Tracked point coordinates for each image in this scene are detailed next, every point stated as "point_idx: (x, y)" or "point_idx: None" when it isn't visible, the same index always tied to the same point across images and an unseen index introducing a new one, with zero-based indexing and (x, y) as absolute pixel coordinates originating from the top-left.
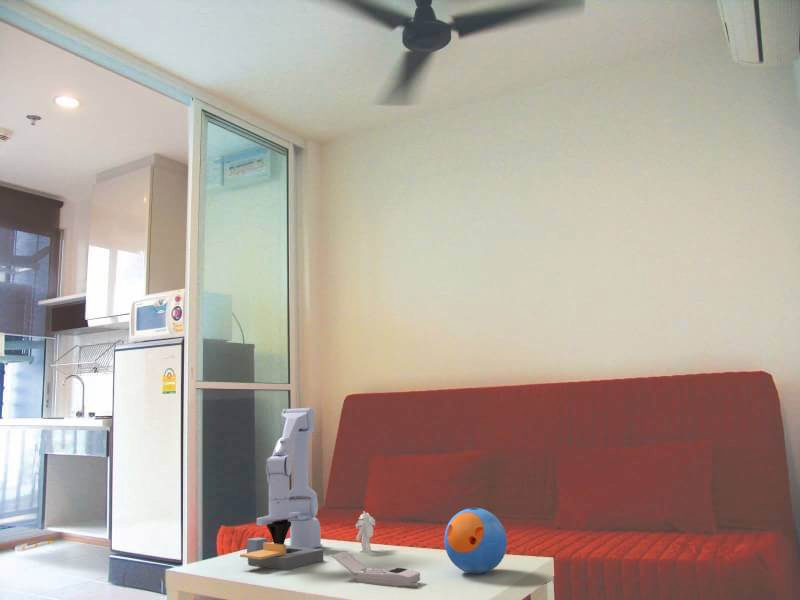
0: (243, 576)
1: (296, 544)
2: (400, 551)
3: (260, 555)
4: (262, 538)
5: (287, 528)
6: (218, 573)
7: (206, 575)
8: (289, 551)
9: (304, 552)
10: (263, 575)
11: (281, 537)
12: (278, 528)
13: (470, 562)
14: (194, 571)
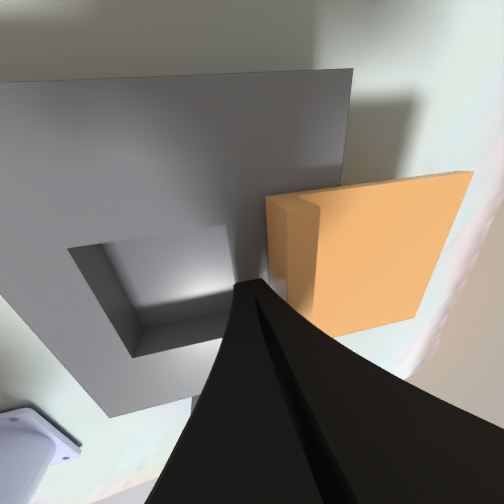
0: (457, 170)
1: (24, 453)
2: None
3: (426, 220)
4: None
5: (223, 455)
6: None
7: (450, 284)
8: (135, 340)
9: (108, 147)
10: (434, 99)
11: (287, 327)
12: (483, 420)
13: None
14: (412, 342)
